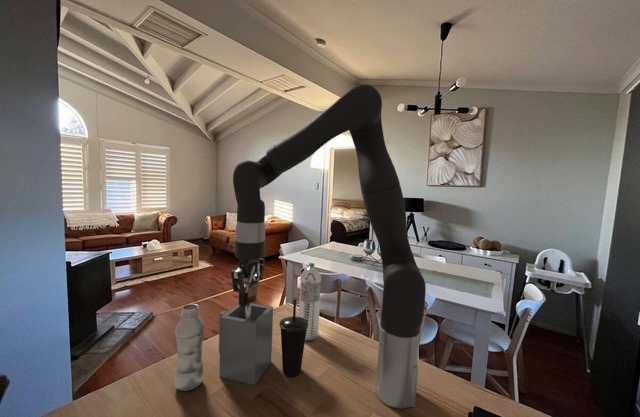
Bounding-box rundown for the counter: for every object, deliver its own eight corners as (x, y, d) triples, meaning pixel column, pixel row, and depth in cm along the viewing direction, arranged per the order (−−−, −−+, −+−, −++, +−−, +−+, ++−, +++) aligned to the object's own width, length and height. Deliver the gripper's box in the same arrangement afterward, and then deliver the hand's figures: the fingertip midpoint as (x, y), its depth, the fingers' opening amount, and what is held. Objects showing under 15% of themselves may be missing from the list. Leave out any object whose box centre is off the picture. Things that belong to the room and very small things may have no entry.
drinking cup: (301, 383, 72) (305, 308, 70) (273, 377, 73) (276, 304, 71) (308, 364, 79) (312, 296, 77) (283, 360, 81) (285, 292, 79)
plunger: (263, 352, 78) (266, 282, 77) (252, 368, 72) (254, 290, 70) (242, 348, 80) (243, 278, 78) (228, 362, 74) (230, 287, 72)
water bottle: (295, 332, 96) (298, 260, 94) (314, 330, 98) (318, 260, 96) (300, 343, 90) (303, 266, 87) (320, 340, 92) (324, 266, 89)
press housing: (271, 361, 80) (273, 307, 78) (254, 385, 70) (256, 324, 69) (230, 352, 83) (232, 300, 82) (209, 374, 74) (210, 315, 72)
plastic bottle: (175, 379, 71) (176, 303, 69) (204, 374, 73) (205, 300, 72) (172, 397, 65) (172, 314, 63) (203, 391, 67) (204, 311, 66)
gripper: (249, 245, 65) (247, 316, 67) (274, 235, 79) (272, 293, 81) (221, 242, 67) (219, 310, 69) (250, 232, 81) (249, 290, 83)
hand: (248, 301), depth 75 cm, fingers closed on plunger, 4 cm apart
